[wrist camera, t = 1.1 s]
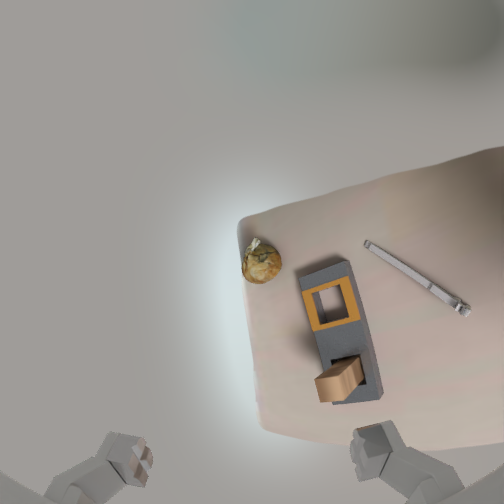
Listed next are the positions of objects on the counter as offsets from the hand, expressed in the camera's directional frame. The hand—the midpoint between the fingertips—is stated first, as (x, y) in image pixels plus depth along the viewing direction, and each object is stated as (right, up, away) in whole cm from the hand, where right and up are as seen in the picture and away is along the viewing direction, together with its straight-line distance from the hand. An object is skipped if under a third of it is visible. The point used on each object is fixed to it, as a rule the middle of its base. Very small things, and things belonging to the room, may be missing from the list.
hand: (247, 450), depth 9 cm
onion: (+4, +5, +47) cm, 48 cm away
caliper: (+26, +4, +29) cm, 39 cm away
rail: (+16, -7, +37) cm, 41 cm away
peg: (+18, -12, +35) cm, 41 cm away
